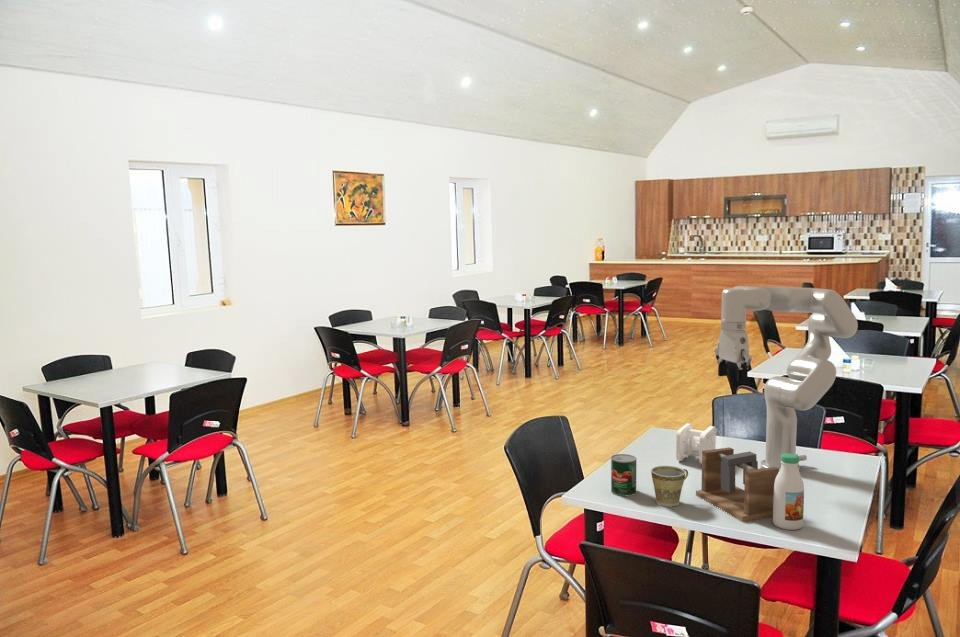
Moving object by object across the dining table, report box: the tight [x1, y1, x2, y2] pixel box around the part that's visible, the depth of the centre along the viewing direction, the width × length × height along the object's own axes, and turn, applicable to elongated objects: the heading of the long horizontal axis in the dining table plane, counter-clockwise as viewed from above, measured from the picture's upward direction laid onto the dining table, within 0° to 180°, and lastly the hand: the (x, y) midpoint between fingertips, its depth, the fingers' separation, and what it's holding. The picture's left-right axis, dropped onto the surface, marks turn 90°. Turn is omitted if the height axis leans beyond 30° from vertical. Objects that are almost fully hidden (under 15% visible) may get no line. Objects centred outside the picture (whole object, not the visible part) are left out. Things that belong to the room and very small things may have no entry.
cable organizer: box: [675, 422, 718, 465], centre depth 258 cm, size 15×11×12 cm
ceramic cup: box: [650, 465, 689, 507], centre depth 219 cm, size 13×10×10 cm
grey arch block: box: [721, 451, 759, 493], centre depth 215 cm, size 10×4×10 cm, turn 109°
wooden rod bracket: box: [695, 446, 779, 523], centre depth 215 cm, size 22×14×14 cm, turn 18°
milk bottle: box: [772, 453, 805, 531], centre depth 199 cm, size 8×8×20 cm
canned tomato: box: [610, 453, 637, 497], centre depth 228 cm, size 8×8×11 cm
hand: (732, 378), depth 236 cm, fingers open, 9 cm apart
